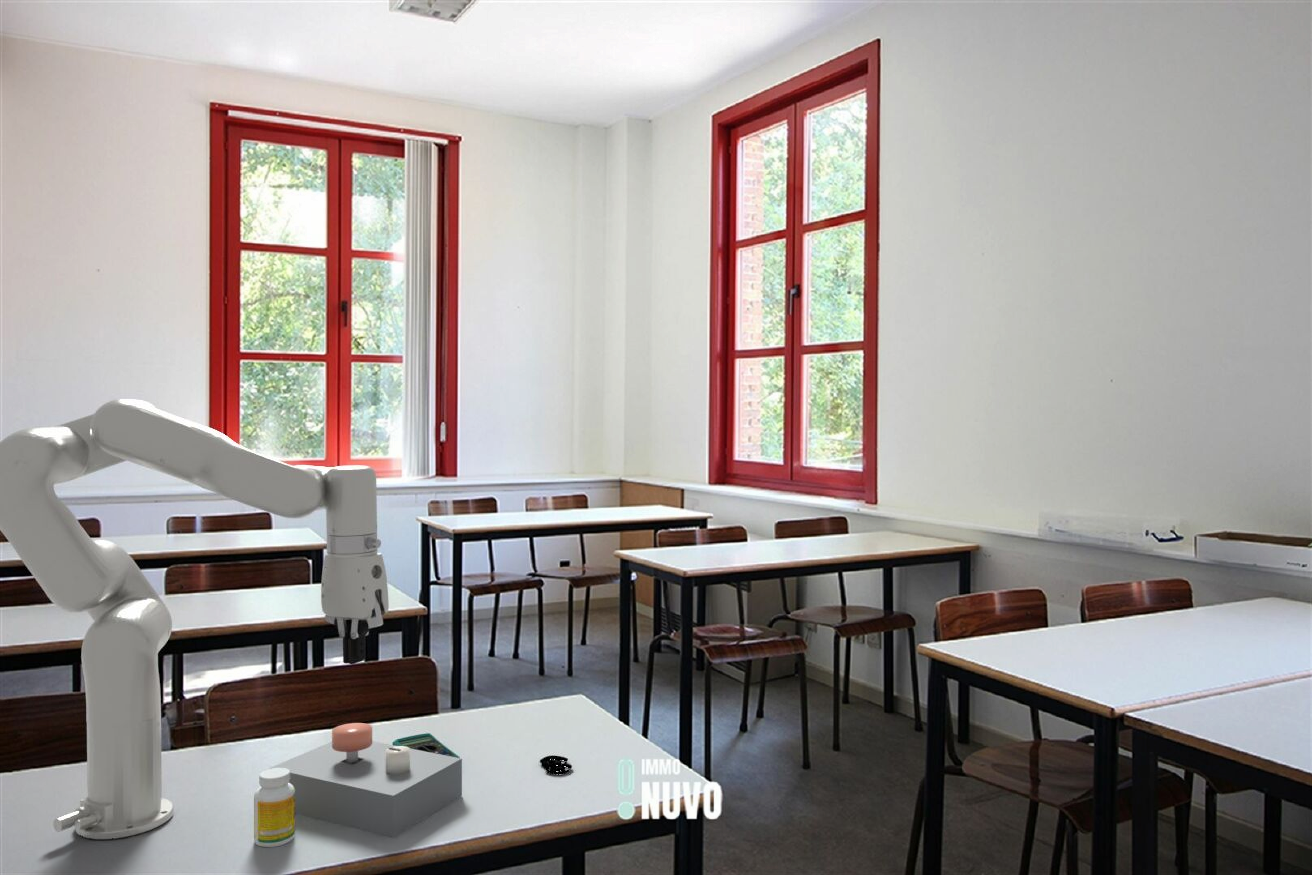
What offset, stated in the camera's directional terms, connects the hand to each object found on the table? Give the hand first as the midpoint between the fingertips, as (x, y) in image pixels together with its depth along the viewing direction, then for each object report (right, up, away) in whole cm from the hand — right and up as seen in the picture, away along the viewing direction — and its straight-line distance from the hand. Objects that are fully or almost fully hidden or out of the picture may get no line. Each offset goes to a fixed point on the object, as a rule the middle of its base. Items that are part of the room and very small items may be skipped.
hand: (354, 661), depth 147 cm
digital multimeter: (+7, -22, +17) cm, 28 cm away
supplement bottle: (-7, -22, -14) cm, 27 cm away
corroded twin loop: (+30, -22, +14) cm, 40 cm away
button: (0, -16, 0) cm, 16 cm away
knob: (+8, -16, -3) cm, 18 cm away
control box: (+2, -22, -1) cm, 22 cm away
